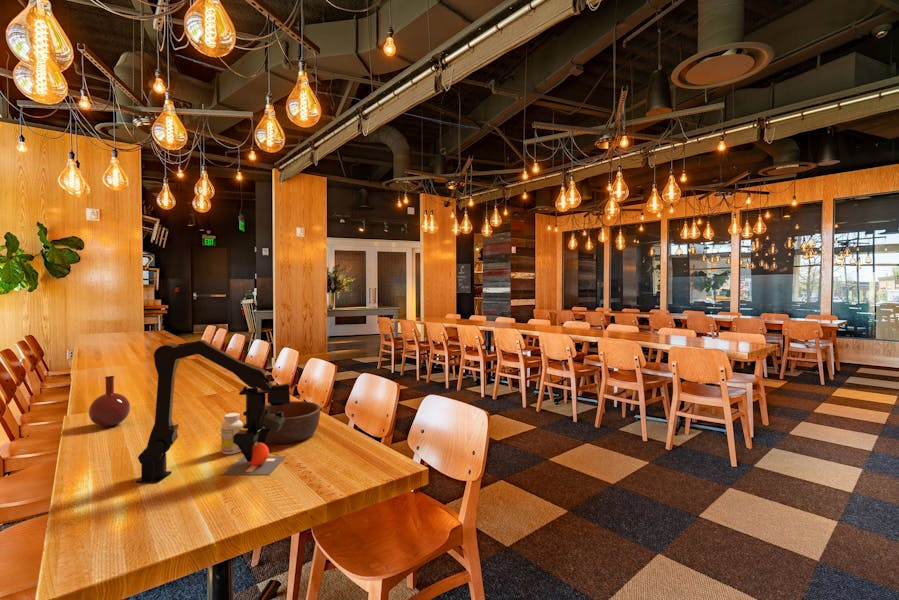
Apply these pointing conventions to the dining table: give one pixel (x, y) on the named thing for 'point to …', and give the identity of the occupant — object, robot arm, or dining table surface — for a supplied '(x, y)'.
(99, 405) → the round-bottom flask
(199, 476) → the dining table surface
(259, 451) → the clementine
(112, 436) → the dining table surface
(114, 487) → the dining table surface
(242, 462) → the letter tile
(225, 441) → the supplement bottle
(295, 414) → the wooden bowl
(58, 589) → the dining table surface
